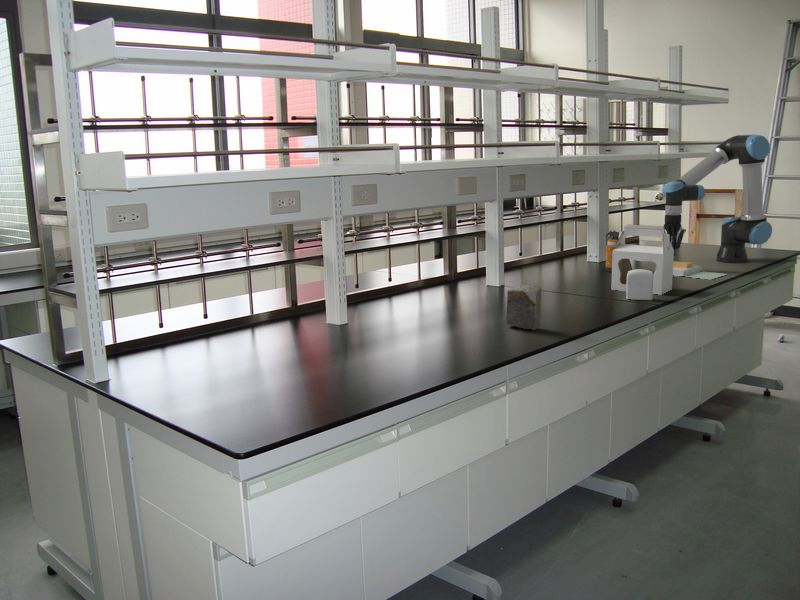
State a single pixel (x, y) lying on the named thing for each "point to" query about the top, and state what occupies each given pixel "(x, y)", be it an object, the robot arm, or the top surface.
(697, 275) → the mat
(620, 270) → the gable box
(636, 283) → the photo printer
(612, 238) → the canister
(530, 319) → the geological specimen
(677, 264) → the light orange flat block
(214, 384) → the top surface
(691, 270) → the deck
